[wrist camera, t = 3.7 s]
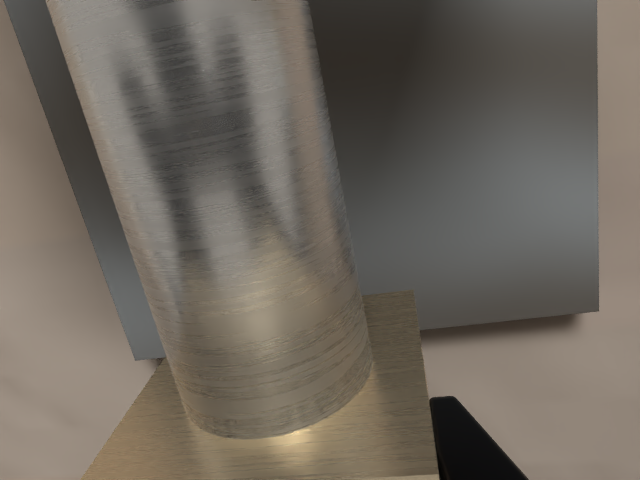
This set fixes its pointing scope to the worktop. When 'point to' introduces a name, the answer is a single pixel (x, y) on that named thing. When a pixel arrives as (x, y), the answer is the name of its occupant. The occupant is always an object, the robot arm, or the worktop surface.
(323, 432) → the shaft
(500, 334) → the worktop surface
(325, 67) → the bearing block
